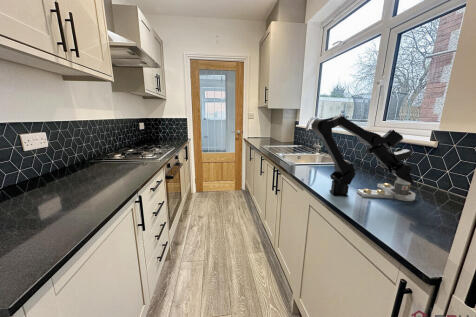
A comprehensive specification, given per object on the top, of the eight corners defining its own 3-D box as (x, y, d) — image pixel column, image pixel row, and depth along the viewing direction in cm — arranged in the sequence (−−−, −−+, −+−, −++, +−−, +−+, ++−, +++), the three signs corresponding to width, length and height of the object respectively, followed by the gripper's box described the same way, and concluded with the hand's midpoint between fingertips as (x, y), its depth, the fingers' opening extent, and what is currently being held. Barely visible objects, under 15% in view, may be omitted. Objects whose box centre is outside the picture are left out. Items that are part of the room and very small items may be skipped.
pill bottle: (410, 199, 88) (415, 179, 86) (396, 198, 89) (400, 178, 87) (402, 194, 93) (407, 175, 91) (389, 193, 95) (393, 174, 92)
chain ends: (365, 198, 88) (366, 193, 88) (347, 185, 106) (348, 180, 105) (420, 201, 86) (421, 196, 85) (392, 187, 103) (393, 182, 103)
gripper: (411, 146, 78) (439, 174, 77) (391, 140, 96) (413, 164, 95) (385, 163, 82) (411, 190, 81) (370, 155, 100) (391, 177, 99)
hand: (407, 179), depth 89 cm, fingers open, 9 cm apart
